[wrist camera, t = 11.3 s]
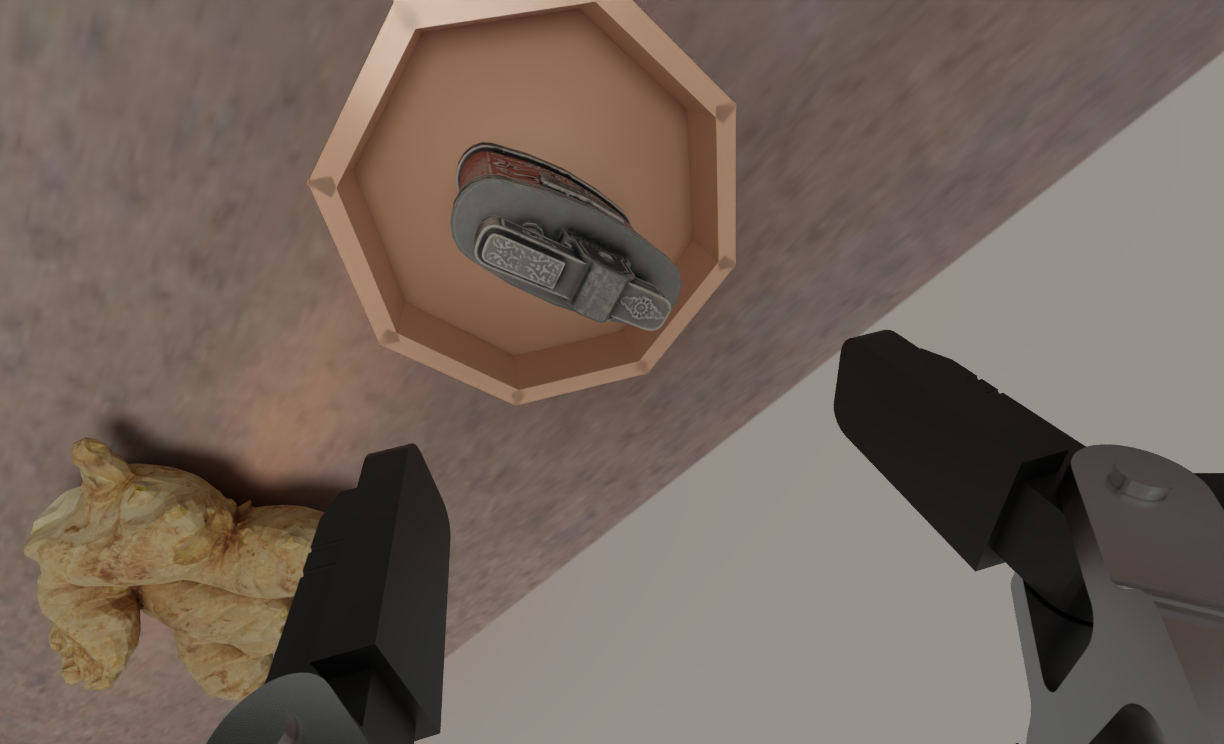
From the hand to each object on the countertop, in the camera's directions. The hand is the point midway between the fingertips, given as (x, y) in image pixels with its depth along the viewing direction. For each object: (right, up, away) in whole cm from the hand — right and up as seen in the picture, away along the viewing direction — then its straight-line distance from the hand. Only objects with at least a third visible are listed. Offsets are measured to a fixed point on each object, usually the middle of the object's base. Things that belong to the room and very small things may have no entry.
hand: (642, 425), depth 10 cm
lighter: (-3, +9, +13) cm, 16 cm away
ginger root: (-22, -8, +19) cm, 31 cm away
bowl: (-4, +9, +14) cm, 17 cm away
